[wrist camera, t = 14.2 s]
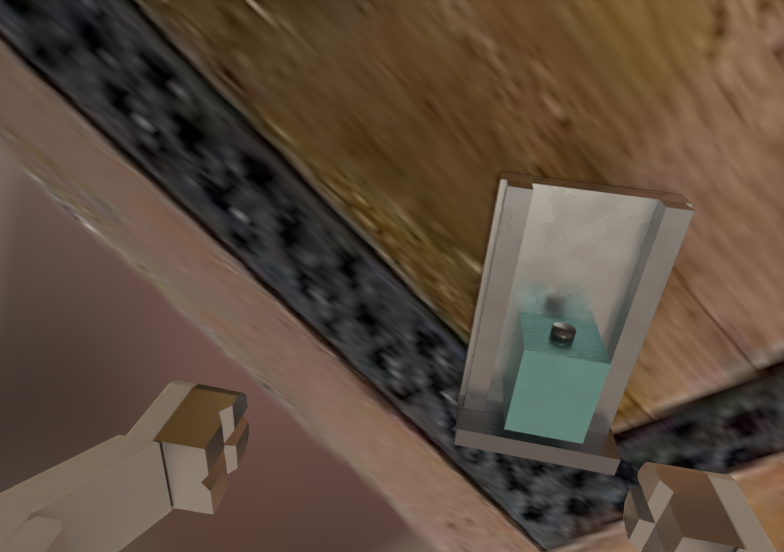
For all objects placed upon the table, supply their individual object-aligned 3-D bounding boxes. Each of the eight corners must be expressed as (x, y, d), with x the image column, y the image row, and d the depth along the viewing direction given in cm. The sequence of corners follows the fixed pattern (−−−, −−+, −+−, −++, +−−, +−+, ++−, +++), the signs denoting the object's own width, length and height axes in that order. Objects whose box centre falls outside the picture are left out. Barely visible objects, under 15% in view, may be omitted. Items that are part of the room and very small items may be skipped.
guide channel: (458, 393, 43) (454, 444, 38) (500, 171, 34) (502, 197, 29) (598, 419, 42) (614, 475, 37) (681, 194, 33) (718, 226, 28)
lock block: (502, 384, 40) (504, 429, 35) (521, 304, 36) (526, 342, 32) (572, 397, 39) (582, 443, 35) (598, 316, 36) (613, 356, 31)
